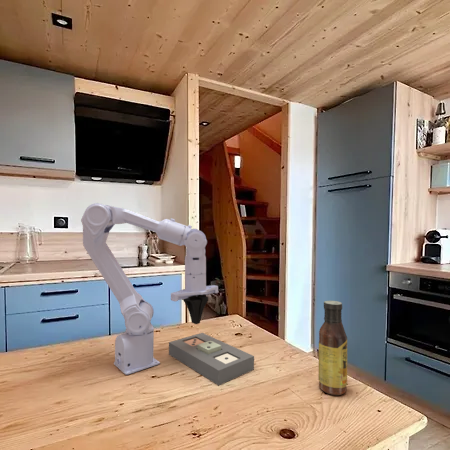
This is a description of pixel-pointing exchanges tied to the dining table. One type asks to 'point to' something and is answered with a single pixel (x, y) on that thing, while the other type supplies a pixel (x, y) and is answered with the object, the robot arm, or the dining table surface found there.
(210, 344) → the tile two
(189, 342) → the tile three
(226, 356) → the tile one
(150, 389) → the dining table surface
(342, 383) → the sauce bottle
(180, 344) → the tile tray
